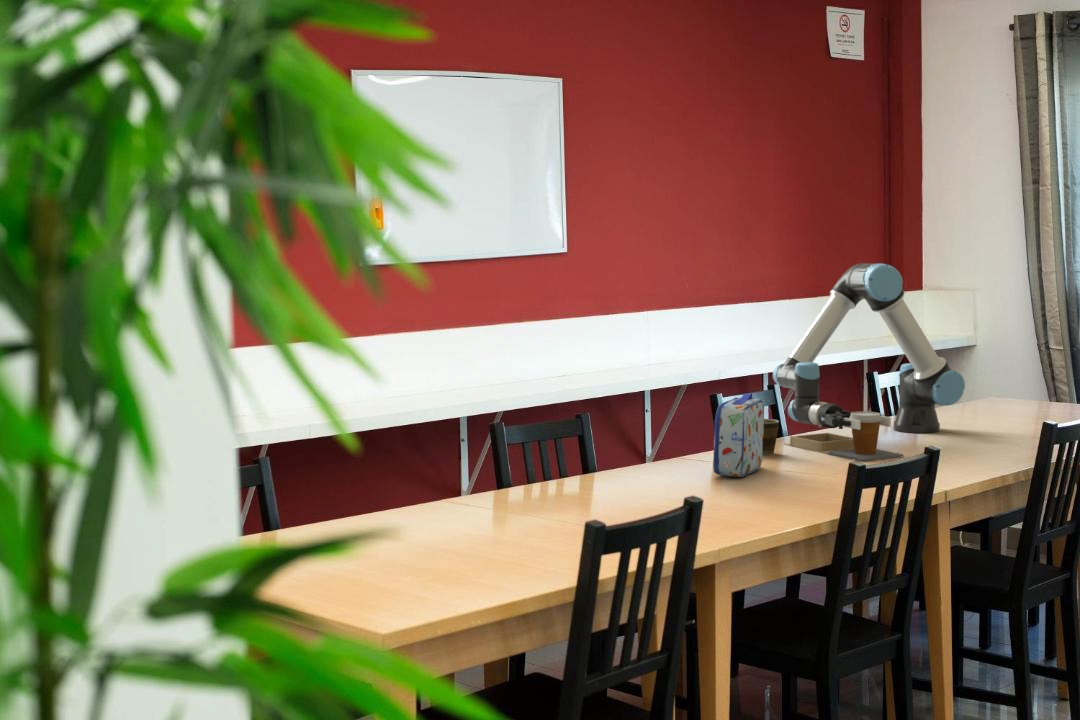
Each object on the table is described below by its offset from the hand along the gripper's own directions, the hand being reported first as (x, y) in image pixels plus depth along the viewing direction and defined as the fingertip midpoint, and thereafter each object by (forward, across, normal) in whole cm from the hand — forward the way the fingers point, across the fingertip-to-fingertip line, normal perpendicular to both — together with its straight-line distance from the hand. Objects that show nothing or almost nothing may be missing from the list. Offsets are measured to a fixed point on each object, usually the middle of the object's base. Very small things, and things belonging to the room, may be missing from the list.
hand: (875, 423), depth 386 cm
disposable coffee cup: (-4, 0, -10) cm, 11 cm away
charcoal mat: (-4, 0, -10) cm, 11 cm away
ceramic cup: (-23, +25, -10) cm, 36 cm away
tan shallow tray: (-23, 0, -10) cm, 25 cm away
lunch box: (-1, +49, -10) cm, 50 cm away
